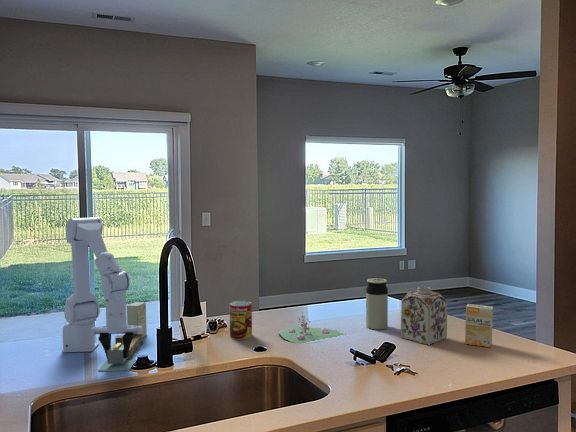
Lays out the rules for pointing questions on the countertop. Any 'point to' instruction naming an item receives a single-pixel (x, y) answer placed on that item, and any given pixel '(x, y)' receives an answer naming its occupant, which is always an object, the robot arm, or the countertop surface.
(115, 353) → the lever cap
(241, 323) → the canned food
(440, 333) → the decorative jar
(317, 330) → the plant
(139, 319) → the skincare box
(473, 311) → the supplement box
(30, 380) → the countertop surface
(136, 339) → the hand plane
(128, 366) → the mat
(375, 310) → the travel mug
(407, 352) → the countertop surface
